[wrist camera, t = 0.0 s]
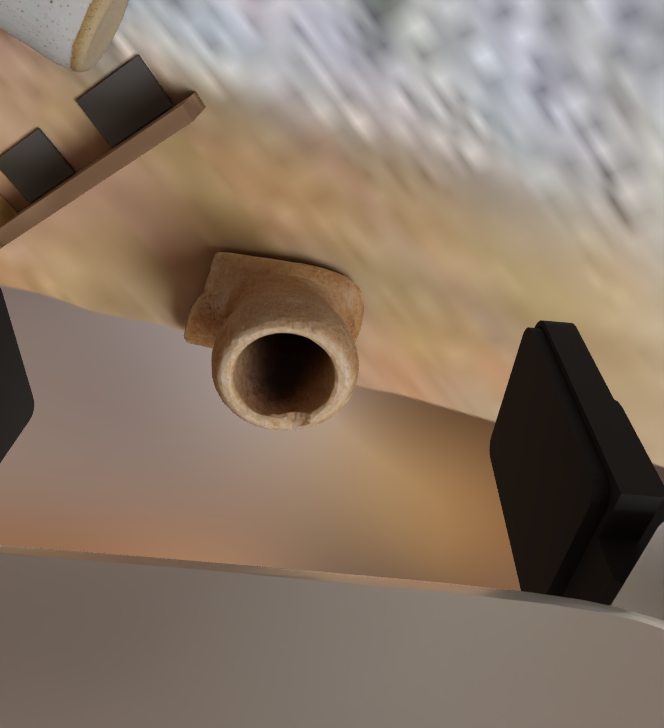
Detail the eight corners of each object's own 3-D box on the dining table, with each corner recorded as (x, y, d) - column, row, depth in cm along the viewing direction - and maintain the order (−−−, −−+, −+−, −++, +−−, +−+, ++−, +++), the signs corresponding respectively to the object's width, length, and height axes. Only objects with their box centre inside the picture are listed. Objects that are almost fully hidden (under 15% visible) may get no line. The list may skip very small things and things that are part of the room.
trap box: (-161, 39, 42) (-204, 48, 39) (36, -150, 36) (4, -157, 32) (18, 231, 50) (-6, 252, 47) (205, 106, 44) (193, 121, 41)
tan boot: (380, 251, 50) (385, 354, 38) (348, 362, 57) (343, 479, 45) (200, 210, 49) (145, 304, 37) (189, 330, 56) (140, 441, 44)
